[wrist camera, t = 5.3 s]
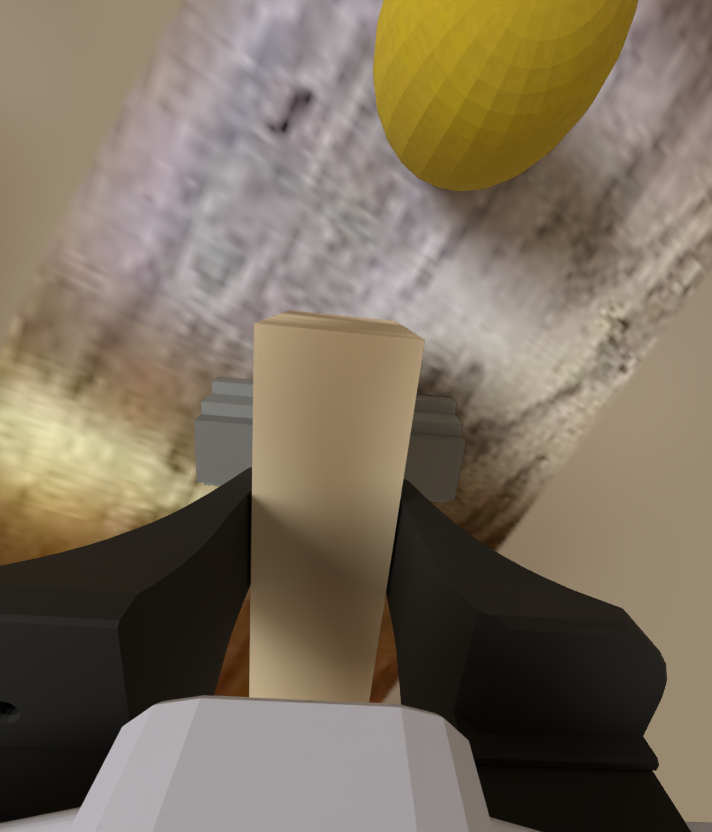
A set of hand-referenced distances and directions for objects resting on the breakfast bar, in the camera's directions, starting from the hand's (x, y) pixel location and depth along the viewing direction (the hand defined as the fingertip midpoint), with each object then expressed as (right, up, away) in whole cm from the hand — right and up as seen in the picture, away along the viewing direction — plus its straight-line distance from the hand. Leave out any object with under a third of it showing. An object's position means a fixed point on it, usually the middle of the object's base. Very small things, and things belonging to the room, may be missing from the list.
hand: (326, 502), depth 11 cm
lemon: (+4, +13, +2) cm, 14 cm away
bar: (0, +1, +3) cm, 3 cm away
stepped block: (0, +2, +5) cm, 6 cm away
